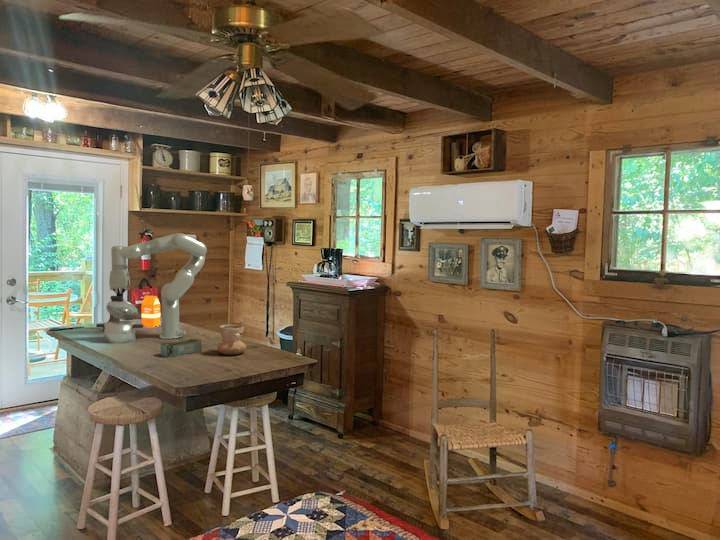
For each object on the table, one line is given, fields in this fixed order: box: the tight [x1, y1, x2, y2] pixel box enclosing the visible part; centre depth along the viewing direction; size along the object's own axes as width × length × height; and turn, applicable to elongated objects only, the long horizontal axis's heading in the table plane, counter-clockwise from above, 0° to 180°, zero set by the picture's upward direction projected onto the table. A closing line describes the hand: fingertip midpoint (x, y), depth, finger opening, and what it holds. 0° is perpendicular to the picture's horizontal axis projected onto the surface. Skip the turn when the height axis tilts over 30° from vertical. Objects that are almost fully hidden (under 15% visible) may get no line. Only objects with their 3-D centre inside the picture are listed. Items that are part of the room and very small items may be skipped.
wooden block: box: [102, 313, 121, 332], centre depth 343 cm, size 9×4×18 cm, turn 139°
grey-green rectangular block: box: [160, 338, 202, 358], centre depth 282 cm, size 8×19×7 cm, turn 134°
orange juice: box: [141, 294, 161, 328], centre depth 359 cm, size 8×9×20 cm
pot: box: [95, 320, 145, 344], centre depth 312 cm, size 26×17×10 cm, turn 88°
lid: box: [106, 295, 139, 321], centre depth 314 cm, size 17×20×4 cm
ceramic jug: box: [216, 324, 247, 356], centre depth 283 cm, size 18×14×14 cm
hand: (119, 300), depth 310 cm, fingers closed
